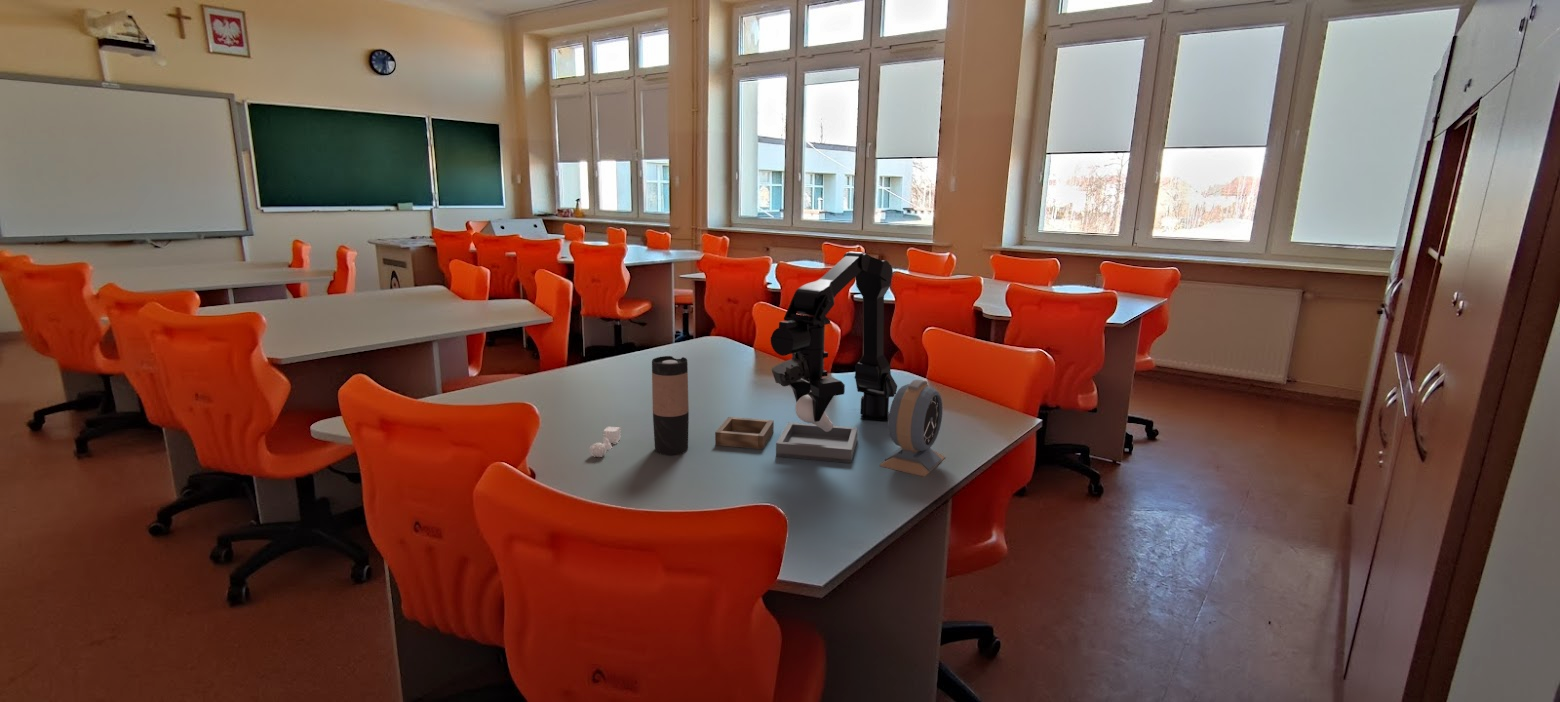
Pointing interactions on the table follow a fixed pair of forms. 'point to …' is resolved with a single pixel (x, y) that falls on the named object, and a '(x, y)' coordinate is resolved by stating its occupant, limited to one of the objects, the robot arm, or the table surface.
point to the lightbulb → (811, 413)
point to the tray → (817, 443)
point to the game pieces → (606, 441)
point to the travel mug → (670, 404)
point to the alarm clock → (915, 428)
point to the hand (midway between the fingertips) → (809, 416)
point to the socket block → (745, 440)
